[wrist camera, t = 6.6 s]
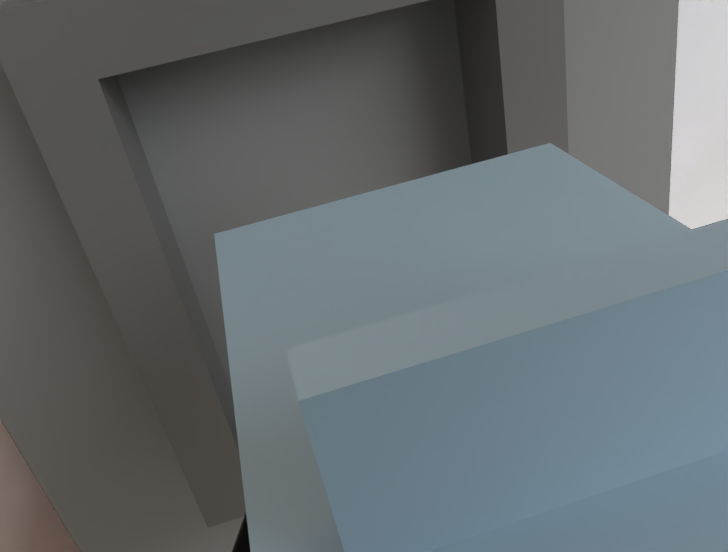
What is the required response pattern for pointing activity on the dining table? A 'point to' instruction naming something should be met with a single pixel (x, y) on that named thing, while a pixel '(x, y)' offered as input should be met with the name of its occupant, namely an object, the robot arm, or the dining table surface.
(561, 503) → the block
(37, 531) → the dining table surface
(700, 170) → the dining table surface
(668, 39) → the chassis plate
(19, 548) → the dining table surface
